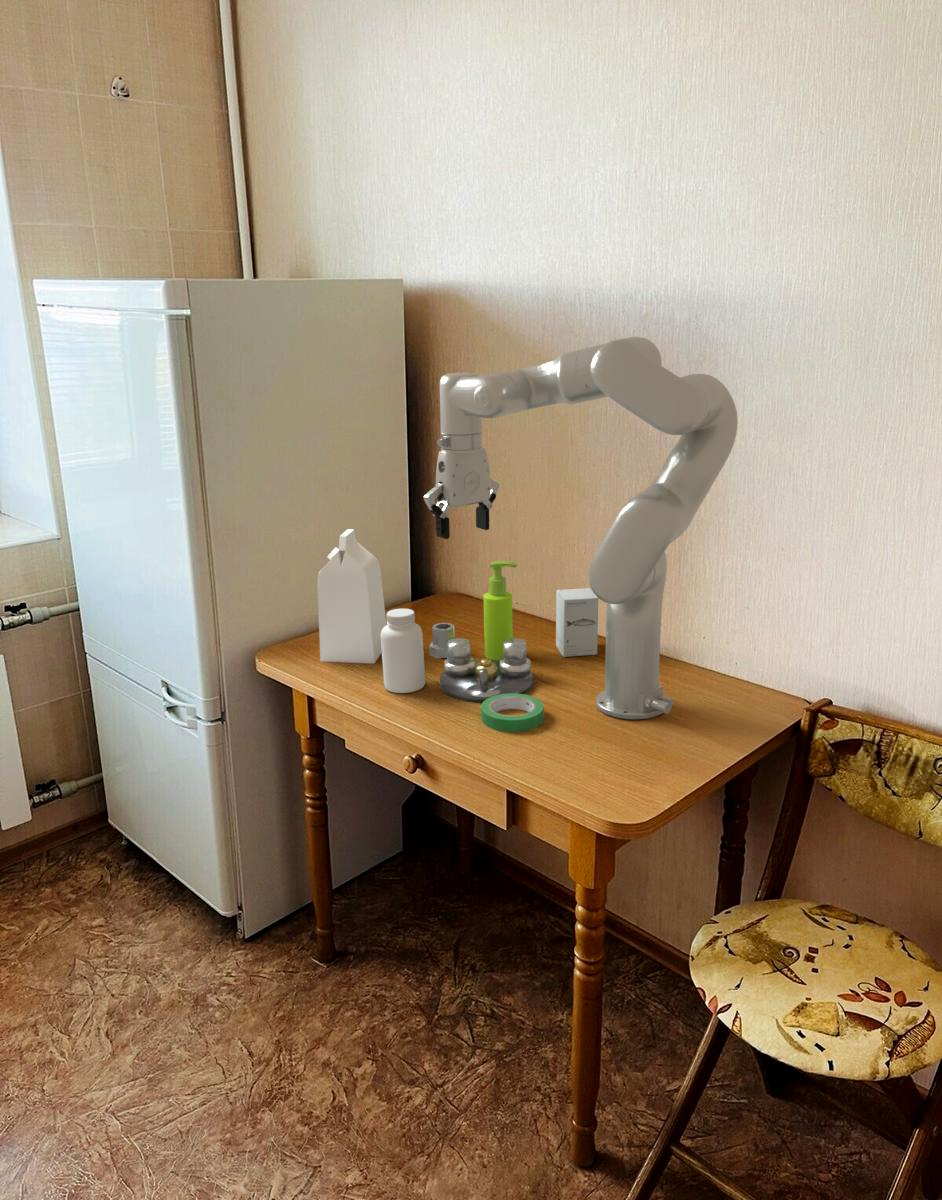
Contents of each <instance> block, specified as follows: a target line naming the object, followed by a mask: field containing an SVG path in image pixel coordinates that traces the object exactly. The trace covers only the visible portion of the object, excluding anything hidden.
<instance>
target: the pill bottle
mask: <svg viewBox="0 0 942 1200" xmlns="http://www.w3.org/2000/svg"><path fill="white" fill-rule="evenodd" d="M385 616H386V626H385V627H384V628H383V629H382V631H381V648H382V653H381V660H382V672H383V673H382V674H383V675H382V676H383V686H384V688H385V689H386V690H387V691H388V692H391V693H396V694H409V693H413V692H417V691H420V690H421V689H422V688H424V687H425V683H426V671H425V670H426V669H425V654H424V636H423V630H422V627H421V626H420V625H419V624H417V623H415V621H416V613H415V611H414V610H413V609H410V608H394V609H391V610H389V611H387V612H386V613H385Z"/></svg>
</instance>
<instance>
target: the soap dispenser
mask: <svg viewBox="0 0 942 1200" xmlns="http://www.w3.org/2000/svg"><path fill="white" fill-rule="evenodd" d="M502 567H510V568H516V567H518V563H517V562H514V561H509V560H500V561H498V560H497V561H490V568H492V576H491V577H489V579H488V580H489V581H488V583H489V584H488V585H489V587H488V589H489V591H488V592H487V591H486V593H484V594H483V631H484V632H483V634H484V637H483V638H484V639H483V640H484V657H485V658H487V659H491V660H501V659H503V658H504V641H505V640H508V639H514V631H513V630H514V629H513V627H514V626H513V624H514V622H513V621H514V619H513V615H514V614H513V594H512V593H511V592H509V591H507V578H506V577H504V576H503V575H502V574H503V573H502Z"/></svg>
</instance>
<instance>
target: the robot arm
mask: <svg viewBox="0 0 942 1200" xmlns="http://www.w3.org/2000/svg"><path fill="white" fill-rule="evenodd" d="M661 356H662V355H661V352H660V350H659V349H658V346H657V345H656V344H655V343H654V342H653V341H652V340H649V339H647V338H645V337H640V336H631V337H625V338H619V339H617V338H616V339H614V340H610V341H609V342H606V343H602V344H599V345H595V346H590V347H587V348H583V349H578V350H574V351H570V352H569V351H568V352H564V353H562V354H560V355H559V356H558V357H557V358H555V359H553V360H551V361H547V362H543V363H539V364H535V365H531V366H526V367H522V368H521V367H520V368H518V369H513V370H508V371H506V370H505V371H501V372H495V373H490V374H486V375H485V374H484V375H479V374H476V373H474V372H473V373H472V372H449V373H446V374H444V375H442V376H441V378H440V379H439V380H440V381H439V405H440V406H439V411H440V412H439V413H440V414H439V415H440V418H439V419H440V438H438V439H437V441H436V444H437V446H438V447H440V449H441V450H439V451H438V455H437V463H436V469H435V470H436V471H435V486H434V487H432V489H430V490H429V491H428V492H426V493H425V494H424V496H423V497H422V498H423V500H424V502H425V504H426V506H427V509H428V511H430V513H432V516H433V517H435V532H436V533H435V534H436V535H435V536H436V537H438V538H442V539H443V540H448V539H450V532H451V531H450V518H449V517H447V516H448V514H449V512H450V511H451V509H452V508H460V507H465V506H466V507H467V506H471V505H475V504H477V505H478V506H476V508H475V526H476V528H477V529H479V530H480V529H481V530H483V531H488V530H490V510H491V509H492V508H493V503H494V501H495V500H496V498H497V493H498V490H499V488H500V483H498V482H497V481H494V480H493V479H491V472H490V463H489V458H488V454H487V450H486V447H483V422H482V420H483V419H498V418H501V417H505V416H508V415H512V414H515V413H516V414H517V413H520V412H524V411H529V410H534V409H537V408H542V407H547V406H551V405H557V404H562V403H564V404H567V405H576V404H580V403H586V402H589V401H594V400H598V399H602V398H603V399H604V398H609V399H611V400H612V401H613V402H615V403H617V404H618V405H620V406H621V407H623V408H624V409H626V410H627V411H629V412H630V413H631V414H633V415H634V416H636V417H637V418H639V419H641V420H642V421H644V422H645V423H647V424H648V425H650V426H651V427H653V429H654V428H655V429H656V430H658V431H660V432H661V433H663V434H664V433H665V434H667V435H670V436H680V437H679V439H678V441H677V443H676V444H675V445H674V447H673V448H672V449H671V451H670V453H669V455H668V456H667V458H666V459H665V461H664V464H663V465H662V467H661V469H660V470H659V472H658V474H657V475H656V476H655V478H654V480H653V481H652V483H650V485H649V486H648V487H647V488H645V489H644V490H643V491H641V492H639V493H637V494H635V495H634V496H632V497H631V498H630V499H629V500H627V501H626V503H625V504H624V505H623V507H621V509H619V512H618V513H617V515H616V517H615V518H614V520H613V522H612V523H611V526H610V527H609V529H608V531H607V533H606V534H605V536H604V538H603V539H602V541H601V543H600V544H599V546H598V548H597V550H596V552H595V553H594V555H593V558H592V559H591V561H590V564H589V568H588V571H587V573H588V574H587V575H588V578H587V579H588V583H589V586H590V587H589V588H590V589H591V590H592V591H593V592H594V594H595V595H596V596H597V597H598V600H601V602H604V603H606V617H605V619H606V621H605V622H606V623H605V658H604V659H605V664H604V668H605V669H604V690H602V691H601V692H599V693H598V694H597V695H596V698H595V705H596V707H597V708H598V710H599V711H600V712H601V713H603V714H606V715H607V716H611V717H613V718H618V719H624V720H645V719H652V718H655V717H657V716H660V715H661V714H667V715H668V714H669V713H670V712H671V710H672V706H674V703H675V700H674V698H672V697H669V696H665V695H664V685H661V684H660V683H659V682H660V661H661V660H660V658H661V657H660V654H661V633H662V631H661V630H662V629H661V628H662V612H663V611H662V610H663V599H664V592H665V586H666V578H667V573H668V571H667V569H668V561H667V556H666V555H667V554H666V550H667V548H668V547H669V546H670V545H671V543H672V542H674V541H676V540H677V539H678V538H679V537H681V536H682V535H683V534H684V533H685V532H686V531H687V530H688V528H690V525H691V523H692V522H693V518H694V517H695V515H696V514H697V512H698V510H699V508H700V507H701V505H702V503H703V502H704V500H705V498H706V497H707V495H708V493H709V492H710V490H711V488H712V486H713V484H714V483H715V481H716V480H717V478H718V476H719V474H720V473H721V471H722V469H723V467H724V466H725V463H726V462H727V460H728V458H729V457H730V454H731V452H732V449H733V447H734V444H735V441H736V437H737V432H738V419H739V418H738V411H737V407H736V404H735V401H734V399H733V397H732V394H731V393H730V391H729V390H728V388H727V387H726V386H725V384H724V383H723V382H722V381H720V380H719V379H718V378H717V377H714V376H712V375H709V374H705V373H692V374H688V375H684V376H681V377H680V376H679V375H676V374H675V373H673V372H672V371H670V370H669V369H667V368H665V367H663V366H662V362H663V361H662V357H661ZM435 499H436V500H435ZM436 502H437V503H436Z"/></svg>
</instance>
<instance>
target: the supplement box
mask: <svg viewBox="0 0 942 1200" xmlns="http://www.w3.org/2000/svg"><path fill="white" fill-rule="evenodd" d="M555 593H556V594H555V595H556V596H555V597H556V598H555V600H556V602H555V608H556V609H555V620H556V622H555V646H556V648H557V649H558V651H559V653H560V654H561V656H562V657H563V658H566V657H578V656H582V657H583V656H597V654H598V630H599V629H598V628H599V627H598V626H599V625H598V624H599V623H598V621H599V598H598V597H597V596H596V595H595V594H594V592H593V591H592V589H591V587H585V588H570V589H567V588H566V589H556V591H555Z"/></svg>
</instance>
